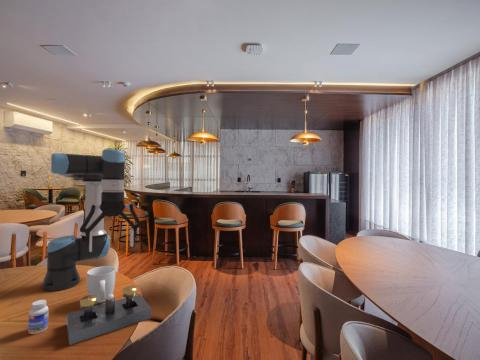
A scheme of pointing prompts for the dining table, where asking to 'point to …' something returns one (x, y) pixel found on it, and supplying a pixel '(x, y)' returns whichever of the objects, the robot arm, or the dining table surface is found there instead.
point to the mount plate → (106, 319)
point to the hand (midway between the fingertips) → (111, 248)
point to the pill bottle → (38, 317)
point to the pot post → (110, 303)
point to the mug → (101, 282)
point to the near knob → (88, 304)
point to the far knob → (130, 294)
